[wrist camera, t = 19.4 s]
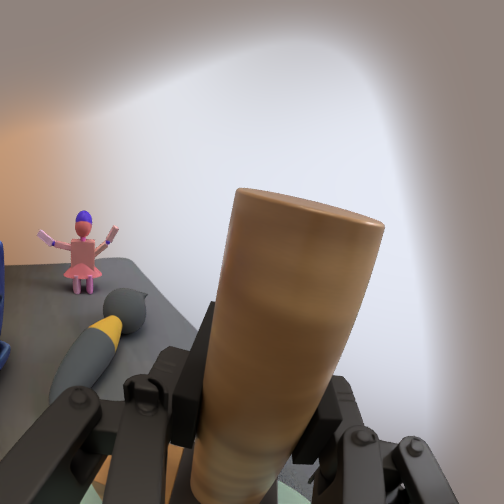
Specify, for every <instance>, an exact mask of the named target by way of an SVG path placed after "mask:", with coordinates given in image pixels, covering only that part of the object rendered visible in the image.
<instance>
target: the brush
mask: <svg viewBox="0 0 504 504" xmlns="http://www.w3.org/2000/svg"><path fill="white" fill-rule="evenodd" d="M384 229H385V226H384V224H383V223H382V222H380V221H377V220H375V219H372V218H370V217H367V216H364V215H361V214H358V213H354V212H351V211H348V210H344V209H341V208H337V207H334V206H330V205H326V204H322V203H319V202H315V201H311V200H306V199H302V198H297V197H293V196H288V195H284V194H279V193H274V192H268V191H262V190H257V189H249V188H238V189H237V190H236V193H235V198H234V203H233V208H232V213H231V219H230V224H229V229H228V235H227V240H226V245H225V251H224V256H223V262H222V267H221V273H220V279H219V285H218V290H217V296H216V302H215V308H214V314H213V321H212V327H211V333H210V339H209V346H208V352H207V359H206V365H205V372H204V379H203V389H202V395H201V402H200V409H199V416H198V424H197V431H196V437H195V442H194V444H193V448H192V449H189V448H185V447H184V451H183V454H182V458H181V461H180V465H179V469H178V472H177V476H176V479H175V483H174V486H173V490H172V494H171V497H170V501H169V504H278V475H279V473H280V472H281V470H282V469H283V467H284V465H285V464H286V462H287V460H288V459H289V457H290V456H291V454H292V452H293V450H294V449H295V447H296V445H297V444H298V442H299V440H300V438H301V437H302V435H303V433H304V431H305V429H306V427H307V426H308V424H309V422H310V420H311V418H312V416H313V414H314V412H315V410H316V408H317V406H318V404H319V402H320V400H321V398H322V396H323V394H324V392H325V390H326V388H327V386H328V384H329V382H330V380H331V377H332V375H333V373H334V371H335V369H336V366H337V364H338V362H339V359H340V357H341V354H342V352H343V350H344V348H345V345H346V343H347V340H348V338H349V335H350V333H351V330H352V328H353V325H354V322H355V320H356V317H357V314H358V312H359V309H360V306H361V303H362V300H363V298H364V295H365V292H366V289H367V286H368V283H369V280H370V277H371V274H372V271H373V267H374V264H375V261H376V257H377V254H378V251H379V247H380V243H381V240H382V236H383V233H384Z"/></svg>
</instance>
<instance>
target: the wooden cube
mask: <svg viewBox="0 0 504 504" xmlns="http://www.w3.org/2000/svg"><path fill="white" fill-rule="evenodd" d="M183 451H184V448H182V447H178V446H174V445H171V444H169V445H168V457H167V472H166V491H165V504H169V501H170V497H171V494H172V490H173V486H174V483H175V479H176V476H177V472H178V469H179V465H180V461H181V458H182V454H183ZM111 457H112V455H108V457H107V458H106V460H105V462H104V463H103V465H102V467H101V468H100V470H99V472H98V473H97V475H96V477H95V479H94V480H93V482H92V486H93V487H94V489H95V491H96V492H97V494H98V495H99V497H100V499H101V500H102V501H103V496H104V490H105V485H106V480H107V475H108V470H109V466H110V461H111Z"/></svg>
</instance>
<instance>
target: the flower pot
mask: <svg viewBox="0 0 504 504" xmlns="http://www.w3.org/2000/svg"><path fill="white" fill-rule="evenodd" d="M3 309H4V251H3V244H2V242H1V241H0V334H1V328H2V320H3ZM9 354H10V345H9V344H8V343H6V342H3V341H1V340H0V370H1V369H2V367H3V366H4V364H5V363H6V361H7V359H8V357H9Z"/></svg>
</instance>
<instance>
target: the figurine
mask: <svg viewBox="0 0 504 504" xmlns="http://www.w3.org/2000/svg"><path fill="white" fill-rule="evenodd" d="M91 228H92V218H91V215H90V214H89V213H88V212H87V211H81V212H79V213H78V215H77V217H76V224H75V230H76V232H77V234H78V235H79V236H80V237H81V239H72V240H71V244H69V243H65V242H60V241H56V242H55V241H54V240H53V239H52V238H51V237H49V236H48V235H47V234H46V233H45V232H44V231H43V230H40V231H39V232H38V234H37V236H38V237H39V238H40V239H41V240H43V241H44V242H45V243H46V244H47V245H48V246H54V247H56V248H60V249H65V250H69V251H71V267H70V268H69V269H68V270H67V271H66V272H65V273H64V276H65V277H68V278H73V291H74V293H75V294H79V293H80V292H81V279H86V290H87V292H88V293H89V294H92V293H93V278H96V277H100V276H101V275H102V273H101V272H100V271H99V270H98V269H97V268H96V267H95V266H94V259H95V257H96V256H97V255H98V254H100V253H101V252H102V251H103V250H105V249H106V248H107V247H108V244H110V242H112V241H113V239H114V237H115V235H116V234H117V232H118V230H119V229H118V227H116V226H114V225H113V227H112V229H111V231H110V232H109V234H108V236H107V238H106V240H105V241H104V242H103V243H102V244H100V245H99V246H98V247H97V248H96V249H95V240H91V239H86V238H85V237H86V236H87V235H89V233H90V231H91Z"/></svg>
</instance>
